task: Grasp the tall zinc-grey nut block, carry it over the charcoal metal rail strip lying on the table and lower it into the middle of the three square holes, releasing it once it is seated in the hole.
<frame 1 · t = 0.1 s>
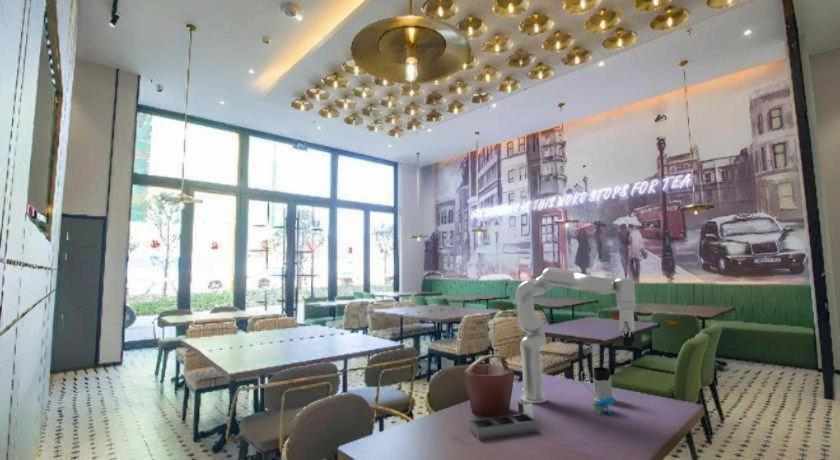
hand: (629, 344, 175), 31 cm above the table, tool pointing down, fingers open, 9 cm apart
bucket: (491, 411, 183), on the table
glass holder: (597, 400, 195), on the table
rack rail: (503, 431, 160), on the table
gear: (604, 412, 179), on the table
cage nut: (525, 419, 172), on the table
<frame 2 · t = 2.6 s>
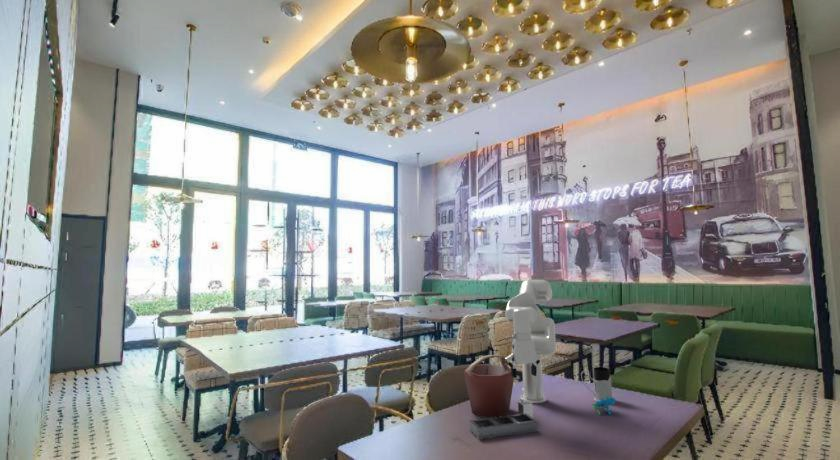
hand: (524, 376, 173), 18 cm above the table, tool pointing down, fingers open, 9 cm apart
nothing on the table moved.
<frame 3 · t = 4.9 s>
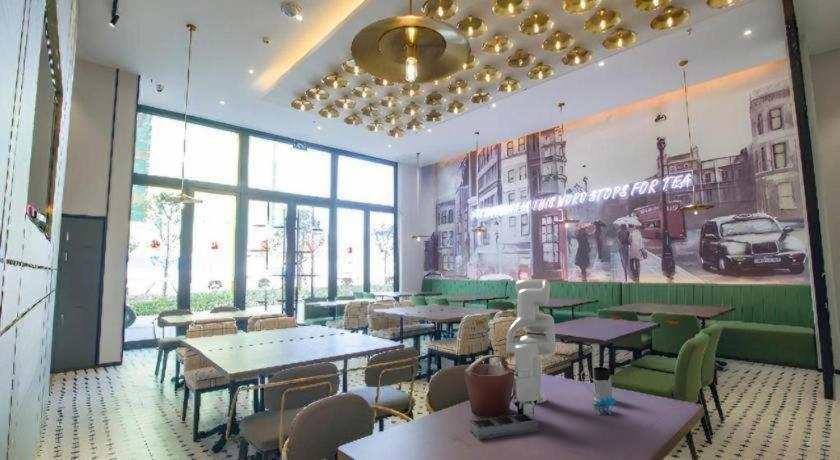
hand: (525, 415, 172), 1 cm above the table, tool pointing down, fingers closed on cage nut, 4 cm apart
cage nut: (525, 419, 172), on the table, touching gripper
everything else where it was.
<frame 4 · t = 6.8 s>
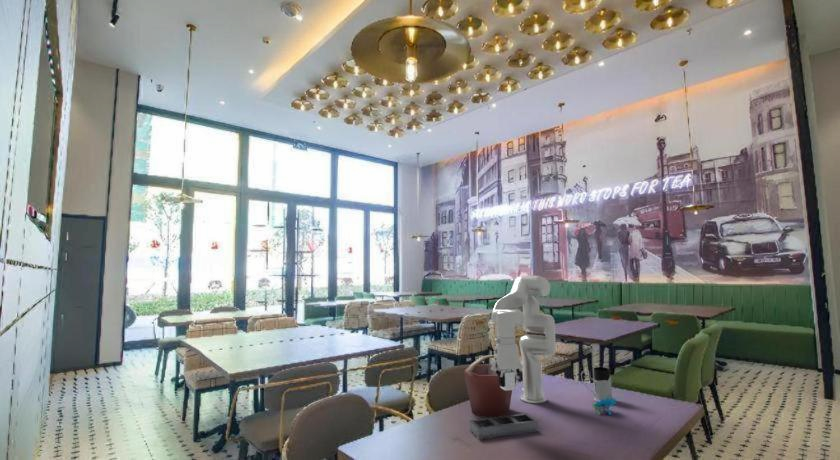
hand: (507, 385, 164), 17 cm above the table, tool pointing down, fingers closed on cage nut, 4 cm apart
cage nut: (507, 388, 164), point 16 cm above the table, touching gripper
everything else where it was.
when the fingers open (4 cm above the table, at t = 8.9 s): cage nut drops 3 cm, resting in rack rail.
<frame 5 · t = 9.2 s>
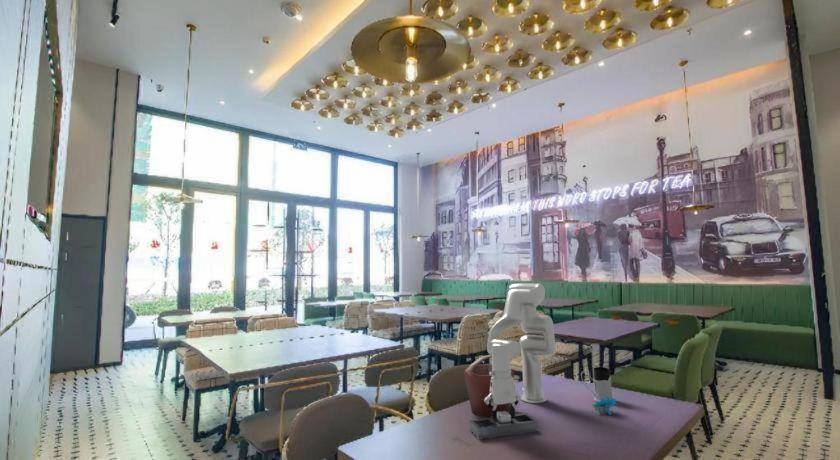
hand: (503, 418, 160), 5 cm above the table, tool pointing down, fingers open, 7 cm apart
cage nut: (503, 431, 160), resting in rack rail
everything else where it was.
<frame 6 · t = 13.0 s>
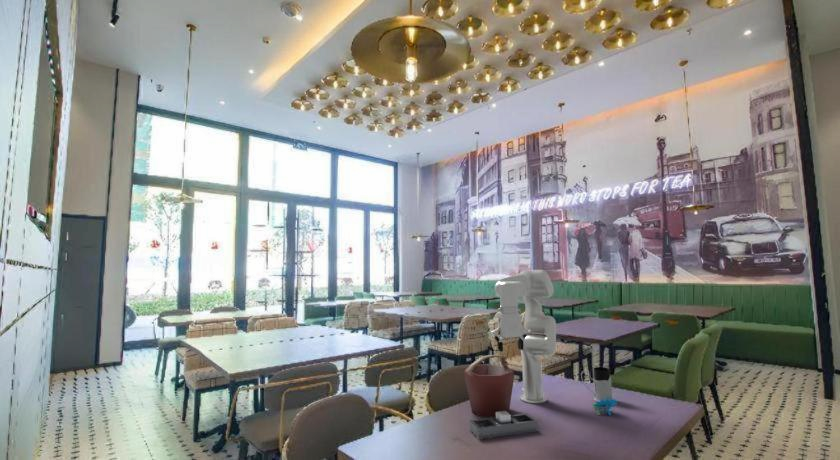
hand: (510, 350, 171), 30 cm above the table, tool pointing down, fingers open, 9 cm apart
at the end: cage nut 0.1 cm off-centre on the rack rail, point 0.0 cm above the rack rail's base; cage nut tilted 0°; the gripper is holding nothing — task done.
